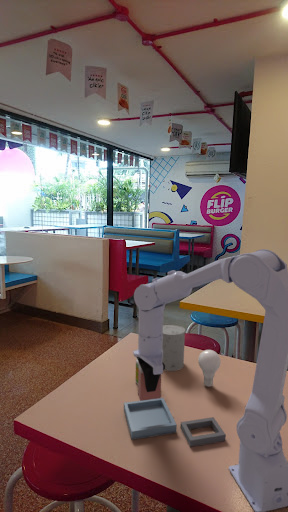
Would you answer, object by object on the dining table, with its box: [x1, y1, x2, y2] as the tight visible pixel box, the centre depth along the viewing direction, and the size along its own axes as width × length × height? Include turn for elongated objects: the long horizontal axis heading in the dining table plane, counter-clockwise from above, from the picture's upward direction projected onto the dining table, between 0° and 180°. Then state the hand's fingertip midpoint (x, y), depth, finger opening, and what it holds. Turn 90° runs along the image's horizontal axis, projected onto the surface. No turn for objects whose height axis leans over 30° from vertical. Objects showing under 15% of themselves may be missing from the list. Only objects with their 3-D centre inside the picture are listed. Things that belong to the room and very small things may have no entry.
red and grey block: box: [137, 364, 162, 401], centre depth 72 cm, size 2×5×8 cm, turn 103°
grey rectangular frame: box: [179, 416, 226, 447], centre depth 69 cm, size 6×8×2 cm
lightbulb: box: [197, 349, 222, 388], centre depth 88 cm, size 6×6×11 cm
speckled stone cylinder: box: [162, 323, 186, 372], centre depth 101 cm, size 10×10×12 cm
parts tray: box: [123, 397, 178, 441], centre depth 73 cm, size 11×11×2 cm
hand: (149, 387), depth 72 cm, fingers closed on red and grey block, 2 cm apart
